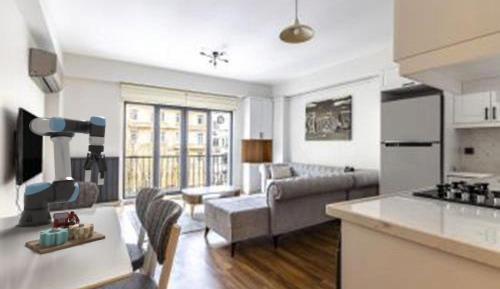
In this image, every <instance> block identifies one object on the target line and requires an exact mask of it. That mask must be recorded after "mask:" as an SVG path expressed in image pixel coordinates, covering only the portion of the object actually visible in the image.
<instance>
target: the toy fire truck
mask: <svg viewBox="0 0 500 289" xmlns="http://www.w3.org/2000/svg"><path fill="white" fill-rule="evenodd" d="M52 219H53V227H52V229H54V228H62V229H66V228H67V229H69V226H73V225H75V224H81V223H80V221H81V220H80V218H79V216H78V215H77V213H75V211H74V210H71V211H70V212H69V211H64V212H55V213H53V214H52Z"/></svg>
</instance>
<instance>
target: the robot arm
mask: <svg viewBox="0 0 500 289" xmlns="http://www.w3.org/2000/svg"><path fill="white" fill-rule="evenodd" d="M106 122H107V121H106V118H105V117H104V116H91V117H90V119H89V120H85V119H77V118H76V119H75V118H69V117H68V118H67V117H61V116H52V117H51V118H50V117H35V118H34V119H32V120H30V123H29V126H28V127H29V129H30V131H31V132H32V133H33V134H35V135H38V136H42V137H49V138H50V141H51V142H52V143H53V144H52V145H53V161H54V163H53V164H54V166H53V168H54V180H52V183H51V182H49V181H43V182H35V183H30V184H28V185H27V186H26V187H25V188H24V194H23V195H24V198H23V199H24V200H23V212H22V213H21V216H20V218H19V220H18V226H19V227H25V228H26V227H28V228H30V227H32V228H33V227H39V226H45V225H48V224H51V223H53V222H52V220H53V216H51V215H52V214H51V212H50V205H51V204H60V203H61V204H62V203H69V202H74V201H75V200H76V199H77V197H78V196H79V192H80V191H79V190H80V186H79V183H78V182H76V181H75V179H74V178H73V177H72V166H71V150H70V149H71V148H70V142H71V141H72V140H73V138H75V135H76V134H84V135H88V144H89V145H88V148H87V151H88V152H87V153H86V158H85V161H84V163H83V167H82V168H83V169H84V172H85V173H84V183H90V182H91V180H92V179H91V177H92V167H93V166H94V163H95V164H96V166H97V169H98V170H99V171H98V175H97V185H98V186H101V185H105V184H104V182H105V173H107V172H108V167H107V162H106V155H105V153H104V151H105V138H106V127H107V126H106V125H107V124H106Z"/></svg>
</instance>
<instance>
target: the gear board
mask: <svg viewBox="0 0 500 289" xmlns="http://www.w3.org/2000/svg"><path fill="white" fill-rule="evenodd" d="M94 228H95V226H94V223H87V222H83V223H79V224H75V225H73V226H69V229H68V241H67V242H62V243H61V244H59V245H56V244H54V245H50V246H46V245H39V239H40V238H39V239H35V240H34V239H33V240H31V241H30V240H29V241H26V242H25V246H27V247H29V249H32V250H34V251H35V252H37V253H38V254H40V255H42V254H47V253H50V252H55V251H58V250H62V249H67V248H71V247H75V246H78V245H84V244H87V243H90V242H91V243H92V242H94V241H98V240H99V241H100V240H103V239H106V235H104V234H102V233H101V232H97V231H95V229H94ZM50 229H51V233H55V232H58V229H57V228H54V229H53V228H50Z"/></svg>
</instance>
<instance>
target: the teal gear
mask: <svg viewBox="0 0 500 289" xmlns="http://www.w3.org/2000/svg"><path fill="white" fill-rule="evenodd" d="M51 229H52V228H47V229H46V230H41V231H40V232H39V245H46V246H50V245H54V244H56V245H59V244H61V243H62V242H67V241H68V229H67V228H66V229H62V228H57V229H58V232H55V233H51Z"/></svg>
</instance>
